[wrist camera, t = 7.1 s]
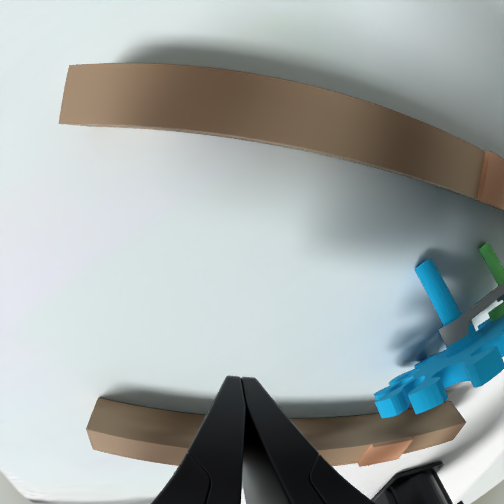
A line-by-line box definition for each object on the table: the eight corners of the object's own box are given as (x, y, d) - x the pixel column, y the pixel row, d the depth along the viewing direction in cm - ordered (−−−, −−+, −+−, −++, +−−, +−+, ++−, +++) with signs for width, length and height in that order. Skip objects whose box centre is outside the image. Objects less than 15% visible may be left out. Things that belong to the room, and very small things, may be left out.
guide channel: (533, 190, 13) (565, 200, 10) (438, 419, 18) (454, 443, 16) (96, 77, 10) (65, 62, 7) (103, 419, 15) (92, 453, 13)
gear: (357, 422, 15) (454, 443, 6) (317, 330, 17) (369, 254, 8) (490, 335, 16) (595, 279, 7) (453, 262, 18) (538, 174, 9)
